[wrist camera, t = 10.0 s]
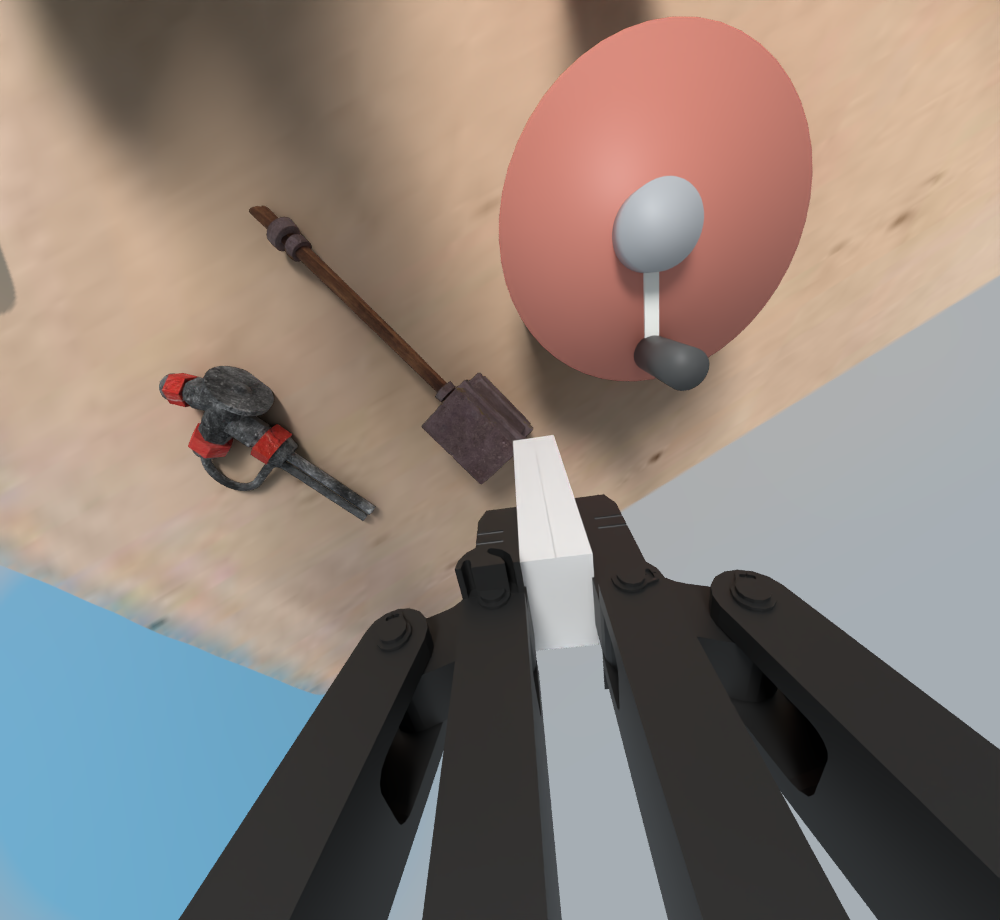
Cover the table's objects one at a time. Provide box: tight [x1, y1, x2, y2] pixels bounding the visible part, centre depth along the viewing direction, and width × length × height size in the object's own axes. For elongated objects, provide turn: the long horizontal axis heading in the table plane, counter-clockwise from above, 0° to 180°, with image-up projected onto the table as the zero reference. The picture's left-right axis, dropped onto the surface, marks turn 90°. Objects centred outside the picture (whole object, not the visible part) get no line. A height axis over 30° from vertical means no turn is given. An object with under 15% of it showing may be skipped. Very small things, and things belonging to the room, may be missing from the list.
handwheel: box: [499, 17, 812, 391], centre depth 24 cm, size 20×20×10 cm
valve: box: [159, 366, 375, 521], centre depth 45 cm, size 6×26×15 cm
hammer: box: [249, 206, 533, 484], centre depth 37 cm, size 7×33×10 cm, turn 46°
